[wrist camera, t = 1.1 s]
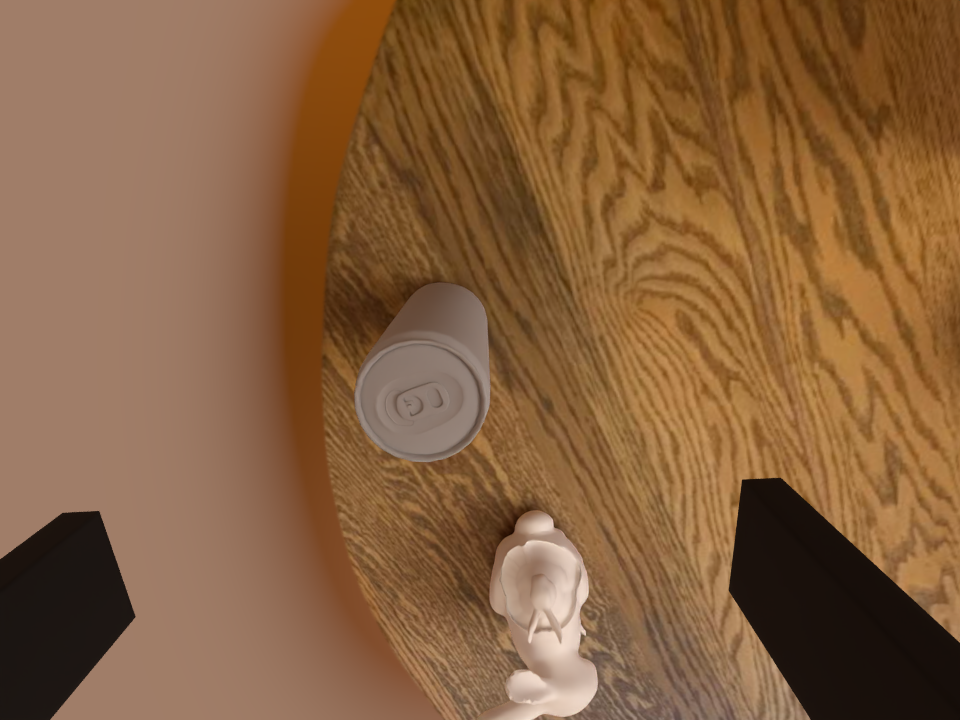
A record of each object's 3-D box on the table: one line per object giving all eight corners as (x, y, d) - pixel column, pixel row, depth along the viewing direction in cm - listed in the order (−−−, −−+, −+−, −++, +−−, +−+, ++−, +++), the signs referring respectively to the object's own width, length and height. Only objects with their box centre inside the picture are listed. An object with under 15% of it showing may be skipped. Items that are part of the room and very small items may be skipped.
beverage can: (390, 296, 28) (326, 363, 16) (469, 267, 27) (461, 315, 16) (422, 372, 29) (383, 482, 18) (498, 345, 29) (510, 441, 17)
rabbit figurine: (586, 636, 35) (623, 789, 26) (481, 646, 36) (482, 801, 26) (574, 492, 32) (612, 612, 23) (458, 505, 32) (449, 628, 23)
